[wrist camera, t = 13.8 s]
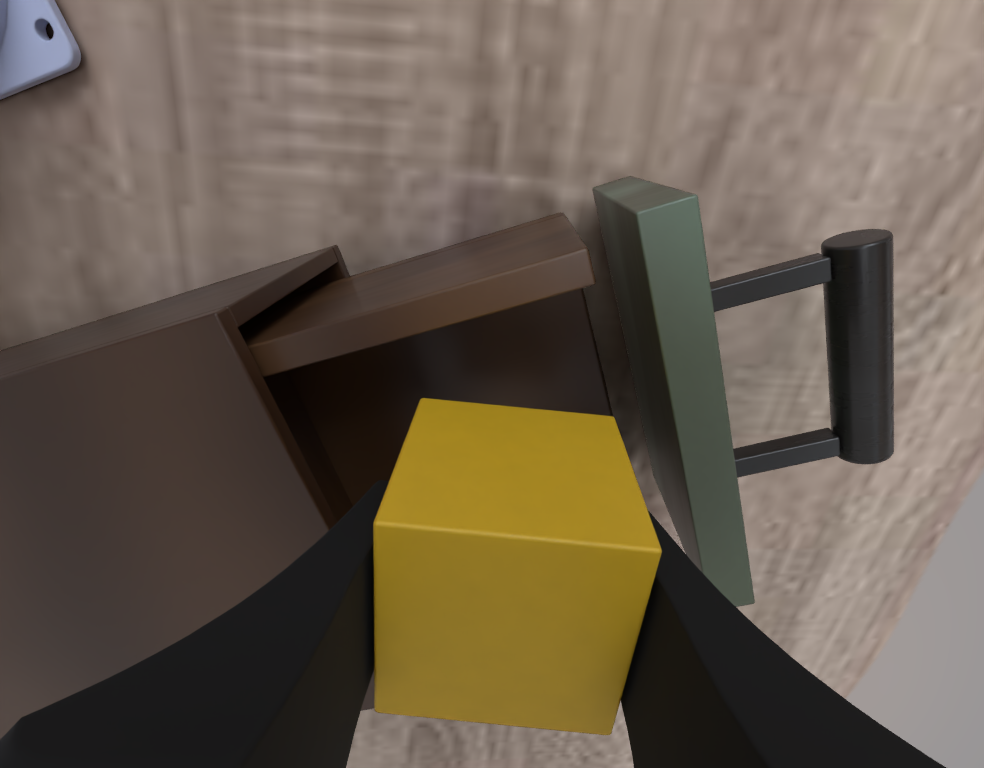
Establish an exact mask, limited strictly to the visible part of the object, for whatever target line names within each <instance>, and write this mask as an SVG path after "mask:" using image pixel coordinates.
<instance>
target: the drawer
mask: <svg viewBox="0 0 984 768" xmlns="http://www.w3.org/2000/svg"><path fill="white" fill-rule="evenodd" d="M593 194H594V199H595V203H596V208H597V213H598V217H599V222H600V227H601V231H602V236H603V241H604V245H605V250H606V255H607V260H608V264H609V269H610V274H611V278H612V283H613V288H614V292H615V297H616V302H617V306H618V311H619V316H620V320H621V325H622V330H623V334H624V339H625V344H626V349H627V353H628V358H629V363H630V367H631V372H632V377H633V381H634V386H635V391H636V395H637V400H638V405H639V409H640V414H641V419H642V424H643V428H644V433H645V438H646V442H647V447H648V452H649V456H650V461H651V466H652V470H653V475H654V478H655V480H656V483H657V485H658V488H659V490H660V492H661V495H662V497H663V500H664V502H665V504H666V507H667V509H668V512H669V514H670V517H671V519H672V521H673V524H674V526H675V529H676V531H677V534H678V536H679V538H680V541H681V543H682V546H683V548H684V550H685V553H686V555H687V556H688V557H689V559H690V560H691V561H692V562H693V563H694V564H695V565H696V566H697V567H698V568H699V570H700V571H701V572H702V573H703V574H704V575H705V576H706V577H707V578H708V579H709V580H710V581H711V582H712V583H713V585H714V586H715V587H716V588H717V589H718V590H719V591H720V592H721V593H722V594H723V595H724V596H725V597H726V598H727V599H728V600H729V601H730V602H731V603H732V604H733V605H734V606H735V607H738V606H743V605H749V604H754V603H755V601H754V593H753V586H752V579H751V572H750V565H749V558H748V551H747V544H746V536H745V529H744V522H743V515H742V508H741V501H740V494H739V487H738V479H737V477H742V476H746V475H751V474H756V473H760V472H765V471H770V470H774V469H779V468H784V467H788V466H793V465H798V464H802V463H807V462H812V461H816V460H821V459H826V458H830V457H835V456H838V457H839V458H841V459H843V460H845V461H848V462H851V463H857V464H875V463H880V462H883V461H885V460H887V459H889V458H890V457H891V456H892V454H893V452H894V312H893V234H892V233H891V232H890V231H887V230H881V229H866V230H857V231H851V232H846V233H842V234H839V235H836V236H833V237H831V238H828V239H826V240H825V241H824V242H823V243H822V245H821V253H822V254H819V253H816V254H813V255H809V256H805V257H802V258H798V259H794V260H791V261H787V262H783V263H780V264H776V265H772V266H769V267H765V268H761V269H758V270H754V271H750V272H746V273H743V274H739V275H735V276H732V277H728V278H724V279H721V280H717V281H713V282H710V280H709V273H708V266H707V259H706V252H705V244H704V237H703V230H702V223H701V216H700V209H699V202H698V196H697V195H696V194H692V193H689V192H685V191H682V190H678V189H674V188H671V187H667V186H664V185H660V184H657V183H653V182H650V181H646V180H642V179H639V178H635V177H632V176H629V177H626V178H622V179H619V180H616V181H613V182H609V183H606V184H603V185H600V186H596V187H594V188H593ZM595 283H596V280H595V275H594V271H593V266H592V262H591V257H590V253H589V250H588V248H587V247H586V245H585V244H584V242H583V241H582V239H581V238H580V236H579V235H578V233H577V232H576V231H575V229H574V228H573V226H572V225H571V223H570V222H569V220H568V219H567V217H566V216H565V215H564V214H563V213H557V214H554V215H551V216H547V217H544V218H541V219H537V220H534V221H531V222H528V223H524V224H521V225H518V226H514V227H511V228H508V229H505V230H501V231H498V232H495V233H491V234H488V235H485V236H482V237H478V238H475V239H472V240H468V241H465V242H462V243H459V244H455V245H452V246H449V247H445V248H442V249H439V250H436V251H432V252H429V253H426V254H422V255H419V256H416V257H413V258H409V259H406V260H403V261H399V262H396V263H393V264H390V265H386V266H383V267H380V268H376V269H373V270H370V271H367V272H363V273H360V274H357V275H353V276H350V277H347V278H344V279H340V280H337V281H334V282H330V283H327V284H324V285H320V286H317V287H314V288H311V289H307V290H304V291H301V292H297V293H294V294H291V295H288V296H285V297H284V298H282V299H281V300H279V301H278V302H276V303H274V304H273V305H271V306H270V307H268V308H267V309H265V310H264V311H262V312H261V313H259V314H258V315H256V316H255V317H253V318H252V319H250V320H249V321H247V322H246V323H244V324H243V325H241V326H239V327H238V329H239V331H240V333H241V335H242V337H243V339H244V341H245V343H246V345H247V347H248V349H249V351H250V353H251V354H252V356H253V358H254V360H255V362H256V364H257V366H258V368H259V370H260V372H261V374H262V376H263V378H264V380H265V382H266V384H267V386H268V388H269V390H270V392H271V394H272V396H273V397H274V399H275V401H276V403H277V405H278V407H279V409H280V411H281V413H282V415H283V417H284V419H285V421H286V423H287V425H288V427H289V429H290V431H291V433H292V435H293V437H294V439H295V441H296V442H297V444H298V446H299V448H300V450H301V452H302V454H303V456H304V458H305V460H306V462H307V464H308V466H309V468H310V470H311V472H312V474H313V476H314V478H315V480H316V482H317V484H318V485H319V487H320V489H321V491H322V493H323V495H324V497H325V499H326V501H327V503H328V505H329V507H330V509H331V511H332V513H333V515H334V517H335V519H336V521H337V522H338V521H339V520H340V519H341V518H342V517H343V516H344V515H345V514H346V513H347V512H348V511H349V510H350V509H351V508H352V507H353V506H354V505H355V504H356V503H357V502H358V501H359V500H360V499H361V498H362V497H363V496H364V495H365V493H366V492H367V491H368V490H369V489H370V488H371V487H372V486H373V485H374V484H375V483H376V482H378V481H379V480H385V481H389V480H390V478H391V475H392V472H393V470H394V467H395V464H396V462H397V459H398V456H399V454H400V451H401V449H402V446H403V443H404V441H405V438H406V435H407V433H408V430H409V427H410V425H411V422H412V420H413V417H414V414H415V412H416V409H417V406H418V404H419V401H420V399H421V398H429V399H439V400H449V401H460V402H470V403H480V404H491V405H501V406H511V407H522V408H532V409H543V410H553V411H563V412H574V413H584V414H594V415H605V416H612V417H613V414H612V409H611V405H610V401H609V397H608V392H607V388H606V384H605V380H604V376H603V371H602V367H601V363H600V359H599V354H598V350H597V346H596V342H595V338H594V333H593V329H592V325H591V321H590V316H589V312H588V308H587V304H586V299H585V295H584V291H583V288H585V287H589V286H592V285H594V284H595ZM822 283H823V289H824V307H825V325H826V343H827V361H828V379H829V397H830V415H831V430H830V429H829V428H824V429H820V430H815V431H811V432H806V433H802V434H797V435H793V436H788V437H784V438H779V439H775V440H770V441H766V442H761V443H757V444H753V445H748V446H744V447H739V448H735V449H733V444H732V437H731V430H730V422H729V415H728V408H727V401H726V394H725V387H724V380H723V373H722V366H721V358H720V351H719V344H718V337H717V330H716V323H715V316H714V312H715V311H719V310H723V309H727V308H731V307H735V306H738V305H742V304H746V303H750V302H754V301H757V300H761V299H765V298H769V297H773V296H776V295H780V294H784V293H788V292H792V291H795V290H799V289H803V288H807V287H811V286H814V285H818V284H822Z"/></svg>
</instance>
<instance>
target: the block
mask: <svg viewBox="0 0 984 768" xmlns="http://www.w3.org/2000/svg"><path fill="white" fill-rule="evenodd" d="M661 553H662V550H661V546H660V544H659V541H658V538H657V535H656V532H655V530H654V527H653V524H652V521H651V518H650V516H649V513H648V510H647V507H646V504H645V502H644V499H643V496H642V493H641V490H640V488H639V485H638V482H637V479H636V476H635V474H634V471H633V468H632V465H631V462H630V460H629V457H628V454H627V451H626V449H625V446H624V443H623V440H622V437H621V435H620V432H619V429H618V426H617V423H616V421H615V418H614V417H612V416H605V415H594V414H584V413H574V412H563V411H553V410H543V409H532V408H522V407H511V406H501V405H491V404H480V403H470V402H460V401H449V400H439V399H429V398H421V399H420V401H419V404H418V406H417V409H416V412H415V414H414V417H413V420H412V422H411V425H410V427H409V430H408V433H407V435H406V438H405V441H404V443H403V446H402V449H401V451H400V454H399V456H398V459H397V462H396V464H395V467H394V470H393V472H392V475H391V478H390V480H389V483H388V485H387V488H386V491H385V493H384V496H383V499H382V501H381V504H380V507H379V509H378V512H377V515H376V517H375V520H374V522H373V573H374V708H375V711H376V712H378V713H386V714H397V715H407V716H417V717H427V718H437V719H447V720H457V721H468V722H478V723H488V724H498V725H508V726H518V727H529V728H539V729H549V730H559V731H569V732H579V733H589V734H600V735H610V734H611V733H612V729H613V725H614V722H615V718H616V715H617V711H618V707H619V704H620V700H621V697H622V693H623V689H624V686H625V682H626V679H627V675H628V672H629V668H630V664H631V661H632V657H633V654H634V650H635V646H636V643H637V639H638V636H639V632H640V628H641V625H642V621H643V618H644V614H645V610H646V607H647V603H648V600H649V596H650V593H651V589H652V585H653V582H654V578H655V575H656V571H657V567H658V564H659V560H660V557H661Z"/></svg>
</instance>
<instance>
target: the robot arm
mask: <svg viewBox="0 0 984 768" xmlns="http://www.w3.org/2000/svg"><path fill="white" fill-rule="evenodd" d="M48 23H50V25H51V26H52V28H53V31H54V34H53V38H52V39H50V38H49V37H48V36H47V32H46V25H47V24H48ZM80 61H81V52H80V49H79V46H78V44H77V42H76V40H75V38H74V37H73V35H72V33H71V31H70V29H69V27H68V25H67V23H66V21H65V19H64V17H63V15H62V14H61V12H60V10H59V8H58V6H57V4H56V2H55V0H0V100H1V99H3V98H6V97H8V96H11V95H13V94H16V93H18V92H20V91H23V90H25V89H28V88H30V87H33V86H35V85H38V84H40V83H43V82H45V81H48V80H50V79H53V78H55V77H58V76H60V75H62V74H65V73H67V72H70V71H72V70H74V69H76V68H77V67H78V66H79V64H80ZM388 483H389V481H385V480H379V481H378V482H376V483H375V484H374V485H373V486H372V487H371V488H370V489H369V490H368V491H367V492H366V493H365V495H364V496H363V497H362V498H361V499H360V500H359V501H358V502H357V503H356V504H355V505H354V506H353V507H352V508H351V509H350V510H349V511H348V512H347V513H346V514H345V515H344V516H343V517H342V518H341V519H340V520H339V521H338V522H337V523H336V524H335V525H334V526H333V527H332V528H331V529H330V530H329V531H328V532H327V533H326V534H324V535H323V536H322V537H321V538H320V539H319V540H318V541H317V542H316V543H315V544H314V545H313V546H311V547H310V548H309V549H308V550H307V551H305V552H304V553H303V554H302V555H301V556H300V557H298V558H297V559H296V560H295V561H294V562H293V563H291V564H290V565H289V566H288V567H287V568H286V569H284V570H283V571H282V572H281V573H279V574H278V575H277V576H275V577H274V578H273V579H272V580H270V581H269V582H268V583H266V584H265V585H264V586H262V587H261V588H260V589H258V590H257V591H255V592H254V593H253V594H251V595H250V596H249V597H247V598H246V599H244V600H243V601H242V602H240V603H239V604H237V605H236V606H234V607H233V608H231V609H229V610H228V611H226V612H225V613H223V614H222V615H220V616H218V617H217V618H215V619H214V620H212V621H210V622H209V623H207V624H206V625H204V626H202V627H201V628H199V629H198V630H196V631H194V632H193V633H191V634H190V635H188V636H186V637H184V638H183V639H181V640H179V641H177V642H176V643H174V644H172V645H170V646H168V647H167V648H165V649H163V650H161V651H159V652H158V653H156V654H154V655H152V656H150V657H148V658H146V659H144V660H142V661H141V662H139V663H137V664H135V665H133V666H131V667H129V668H127V669H125V670H123V671H121V672H119V673H117V674H115V675H113V676H111V677H109V678H107V679H105V680H103V681H101V682H99V683H96V684H94V685H92V686H90V687H88V688H86V689H83V690H81V691H79V692H77V693H75V694H72V695H70V696H68V697H66V698H64V699H62V700H59V701H57V702H55V703H53V704H51V705H48V706H46V707H44V708H42V709H40V710H37V711H35V712H33V713H30V714H28V715H26V716H23V717H21V718H20V719H19V720H18V721H17V722H16V723H15V725H14V726H13V727H12V728H11V729H10V730H9V731H8V732H7V733H6V734H5V735H4V736H3V737H2V738H1V739H0V768H346V765H347V761H348V757H349V753H350V748H351V744H352V740H353V736H354V732H355V728H356V725H357V721H358V718H359V714H360V711H361V708H362V704H363V701H364V698H365V695H366V692H367V689H368V686H369V683H370V680H371V677H372V674H373V672H374V573H373V522H374V520H375V517H376V515H377V512H378V509H379V507H380V504H381V501H382V499H383V496H384V493H385V491H386V488H387V485H388ZM648 513H649V516H650V518H651V521H652V524H653V527H654V530H655V532H656V535H657V538H658V541H659V544H660V546H661V550H662V553H661V557H660V560H659V564H658V567H657V571H656V575H655V578H654V582H653V585H652V589H651V593H650V596H649V600H648V603H647V607H646V610H645V614H644V618H643V621H642V625H641V628H640V632H639V636H638V639H637V643H636V646H635V650H634V654H633V657H632V661H631V664H630V668H629V672H628V675H627V679H626V682H625V686H624V689H623V693H622V697H621V703H622V708H623V712H624V716H625V721H626V725H627V730H628V735H629V740H630V745H631V751H632V756H633V763H634V768H946V767H944V766H943V765H941V764H939V763H938V762H936V761H934V760H933V759H932V758H930V757H928V756H927V755H925V754H924V753H922V752H921V751H919V750H918V749H916V748H915V747H913V746H912V745H910V744H909V743H907V742H906V741H904V740H903V739H901V738H900V737H898V736H897V735H895V734H894V733H892V732H891V731H889V730H888V729H886V728H885V727H883V726H882V725H880V724H879V723H878V722H876V721H875V720H873V719H872V718H871V717H869V716H868V715H866V714H865V713H863V712H862V711H861V710H859V709H858V708H856V707H855V706H854V705H852V704H851V703H850V702H848V701H847V700H846V699H844V698H843V697H842V696H840V695H839V694H838V693H836V692H835V691H834V690H832V689H831V688H830V687H829V686H827V685H826V684H825V683H823V682H822V681H821V680H819V679H818V678H817V677H815V676H814V675H813V674H811V673H810V672H809V671H808V670H807V669H805V668H804V667H803V666H802V665H800V664H799V663H798V662H797V661H795V660H794V659H793V658H792V657H791V656H789V655H788V654H787V653H786V652H785V651H784V650H782V649H781V648H780V647H779V646H778V645H777V644H776V643H774V642H773V641H772V640H771V639H770V638H769V637H767V636H766V635H765V634H764V633H763V632H762V631H761V630H759V629H758V628H757V627H756V626H755V625H754V624H753V623H752V622H751V621H750V620H749V619H748V618H747V617H745V616H744V615H743V614H742V613H741V612H740V611H739V610H738V609H737V608H736V607H735V606H734V605H733V604H732V603H731V602H730V601H729V600H728V599H727V598H726V597H725V596H724V595H723V594H722V593H721V592H720V591H719V590H718V589H717V588H716V587H715V586H714V585H713V583H712V582H711V581H710V580H709V579H708V578H707V577H706V576H705V575H704V574H703V573H702V572H701V571H700V570H699V568H698V567H697V566H696V565H695V564H694V563H693V562H692V561H691V560H690V559H689V557H688V556H687V555H686V554H685V553H684V552H683V551H682V549H681V548H680V547H679V546H678V545H677V544H676V542H675V541H674V540H673V539H672V538H671V537H670V535H669V534H668V533H667V532H666V531H665V530H664V528H663V527H662V526H661V525H660V524H659V522H658V521H657V520H656V519H655V518H654V517H653V515H652V514H651V513H650V512H649V511H648Z"/></svg>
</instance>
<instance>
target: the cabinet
mask: <svg viewBox="0 0 984 768" xmlns="http://www.w3.org/2000/svg"><path fill="white" fill-rule="evenodd" d="M347 277H350V275H349V273H348V271H347V268H346V266H345V263H344V261H343V258H342V256H341V253H340V251H339V248H338V246H337V245H334V246H331V247H328V248H325V249H322V250H318V251H315V252H312V253H309V254H306V255H303V256H299V257H296V258H293V259H290V260H287V261H284V262H280V263H277V264H274V265H271V266H268V267H265V268H261V269H258V270H255V271H252V272H249V273H246V274H242V275H239V276H236V277H233V278H230V279H227V280H223V281H220V282H217V283H214V284H211V285H208V286H204V287H201V288H198V289H195V290H192V291H189V292H185V293H182V294H179V295H176V296H173V297H170V298H166V299H163V300H160V301H157V302H154V303H151V304H147V305H144V306H141V307H138V308H135V309H131V310H128V311H125V312H122V313H119V314H116V315H112V316H109V317H106V318H103V319H100V320H97V321H93V322H90V323H87V324H84V325H81V326H78V327H74V328H71V329H68V330H65V331H62V332H59V333H55V334H52V335H49V336H46V337H43V338H40V339H36V340H33V341H30V342H27V343H24V344H21V345H17V346H14V347H11V348H8V349H5V350H2V351H0V739H1V738H2V737H3V736H4V735H5V734H6V733H7V732H8V731H9V730H10V729H11V728H12V727H13V726H14V725H15V723H16V722H17V721H18V720H19V719H20V718H21V717H23V716H26V715H28V714H30V713H33V712H35V711H37V710H40V709H42V708H44V707H46V706H48V705H51V704H53V703H55V702H57V701H59V700H62V699H64V698H66V697H68V696H70V695H72V694H75V693H77V692H79V691H81V690H83V689H86V688H88V687H90V686H92V685H94V684H96V683H99V682H101V681H103V680H105V679H107V678H109V677H111V676H113V675H115V674H117V673H119V672H121V671H123V670H125V669H127V668H129V667H131V666H133V665H135V664H137V663H139V662H141V661H142V660H144V659H146V658H148V657H150V656H152V655H154V654H156V653H158V652H159V651H161V650H163V649H165V648H167V647H168V646H170V645H172V644H174V643H176V642H177V641H179V640H181V639H183V638H184V637H186V636H188V635H190V634H191V633H193V632H194V631H196V630H198V629H199V628H201V627H202V626H204V625H206V624H207V623H209V622H210V621H212V620H214V619H215V618H217V617H218V616H220V615H222V614H223V613H225V612H226V611H228V610H229V609H231V608H233V607H234V606H236V605H237V604H239V603H240V602H242V601H243V600H244V599H246V598H247V597H249V596H250V595H251V594H253V593H254V592H255V591H257V590H258V589H260V588H261V587H262V586H264V585H265V584H266V583H268V582H269V581H270V580H272V579H273V578H274V577H275V576H277V575H278V574H279V573H281V572H282V571H283V570H284V569H286V568H287V567H288V566H289V565H290V564H291V563H293V562H294V561H295V560H296V559H297V558H298V557H300V556H301V555H302V554H303V553H304V552H305V551H307V550H308V549H309V548H310V547H311V546H313V545H314V544H315V543H316V542H317V541H318V540H319V539H320V538H321V537H322V536H323V535H324V534H326V533H327V532H328V531H329V530H330V529H331V528H332V527H333V526H334V525H335V524H336V523H337V521H336V519H335V517H334V515H333V513H332V511H331V509H330V507H329V505H328V503H327V501H326V499H325V497H324V495H323V493H322V491H321V489H320V487H319V485H318V484H317V482H316V480H315V478H314V476H313V474H312V472H311V470H310V468H309V466H308V464H307V462H306V460H305V458H304V456H303V454H302V452H301V450H300V448H299V446H298V444H297V442H296V441H295V439H294V437H293V435H292V433H291V431H290V429H289V427H288V425H287V423H286V421H285V419H284V417H283V415H282V413H281V411H280V409H279V407H278V405H277V403H276V401H275V399H274V397H273V396H272V394H271V392H270V390H269V388H268V386H267V384H266V382H265V380H264V378H263V376H262V374H261V372H260V370H259V368H258V366H257V364H256V362H255V360H254V358H253V356H252V354H251V353H250V351H249V349H248V347H247V345H246V343H245V341H244V339H243V337H242V335H241V333H240V331H239V329H238V327H239V326H241V325H243V324H244V323H246V322H247V321H249V320H250V319H252V318H253V317H255V316H256V315H258V314H259V313H261V312H262V311H264V310H265V309H267V308H268V307H270V306H271V305H273V304H274V303H276V302H278V301H279V300H281V299H282V298H284V297H285V296H288V295H291V294H294V293H297V292H301V291H304V290H307V289H311V288H314V287H317V286H320V285H324V284H327V283H330V282H334V281H337V280H340V279H344V278H347ZM373 708H374V672H373V674H372V677H371V680H370V683H369V686H368V689H367V692H366V695H365V698H364V701H363V704H362V708H361V710H367V709H373Z"/></svg>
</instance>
